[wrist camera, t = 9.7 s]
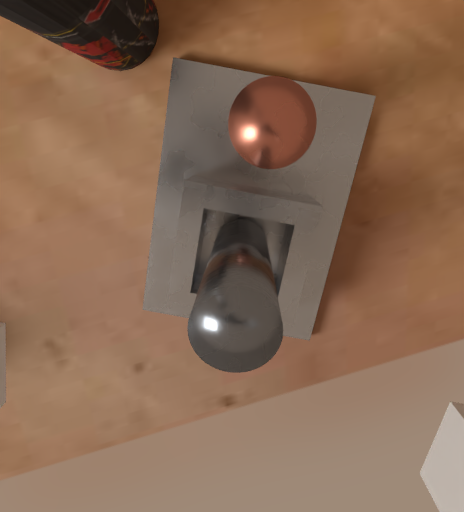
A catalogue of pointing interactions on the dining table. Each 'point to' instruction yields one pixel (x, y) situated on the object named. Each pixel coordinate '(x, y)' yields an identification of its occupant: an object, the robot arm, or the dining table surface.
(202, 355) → the pin
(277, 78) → the metal pin holder base
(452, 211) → the dining table surface
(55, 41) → the deodorant
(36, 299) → the dining table surface
